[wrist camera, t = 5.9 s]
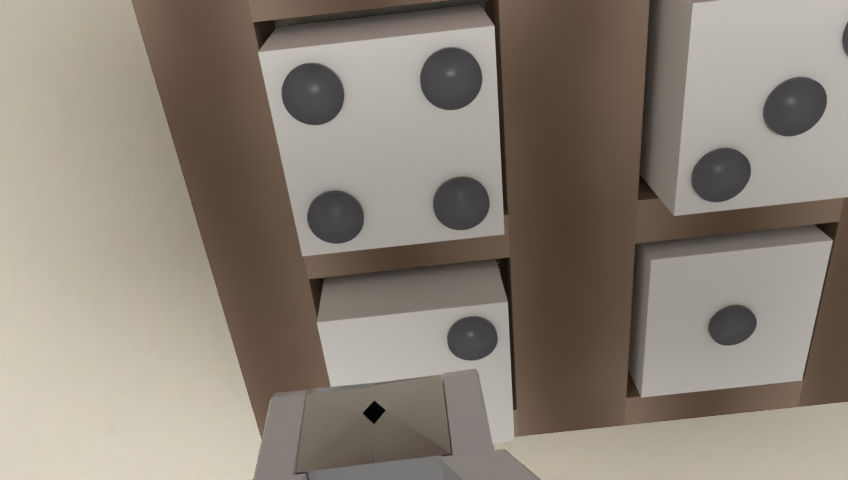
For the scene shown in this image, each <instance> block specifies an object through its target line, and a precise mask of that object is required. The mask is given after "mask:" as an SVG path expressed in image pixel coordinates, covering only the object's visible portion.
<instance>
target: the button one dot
mask: <svg viewBox="0 0 848 480" xmlns="http://www.w3.org/2000/svg"><path fill="white" fill-rule="evenodd" d="M832 242H833V240H832V239H831V238H830V237H828V236H827V235H826V234H825V233H824V232H822V231H821V230H820V229H819V228H818V227H816V226H815V225H814V224H812V225H803V226H794V227H785V228H776V229H766V230H757V231H748V232H739V233H729V234H720V235H711V236H702V237H693V238H683V239H674V240H665V241H656V242H646V243H637V244H635V257H634V274H633V291H632V308H631V325H630V342H629V359H628V371H629V373H630V375H631V377H632V379H633V381H634V383H635V385H636V388H637V390H638V392H639V394H640V396H641V398H642V397H652V396H661V395H671V394H680V393H689V392H699V391H708V390H718V389H727V388H737V387H746V386H755V385H765V384H774V383H784V382H793V381H802V378H803V373H804V369H805V364H806V360H807V355H808V351H809V346H810V342H811V337H812V333H813V328H814V324H815V319H816V315H817V310H818V306H819V301H820V297H821V292H822V287H823V283H824V278H825V274H826V269H827V265H828V260H829V256H830V251H831V247H832Z"/></svg>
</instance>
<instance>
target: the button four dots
mask: <svg viewBox="0 0 848 480" xmlns="http://www.w3.org/2000/svg"><path fill="white" fill-rule="evenodd" d="M258 55H259V59H260V64H261V69H262V73H263V78H264V82H265V87H266V92H267V96H268V101H269V105H270V110H271V115H272V119H273V124H274V128H275V133H276V138H277V142H278V147H279V151H280V156H281V161H282V165H283V170H284V174H285V179H286V184H287V188H288V193H289V197H290V202H291V207H292V211H293V216H294V220H295V225H296V229H297V234H298V239H299V243H300V248H301V252H302V256H311V255H320V254H330V253H339V252H348V251H357V250H366V249H375V248H385V247H394V246H403V245H412V244H421V243H431V242H440V241H449V240H458V239H467V238H477V237H486V236H495V235H504V213H503V192H502V172H501V151H500V130H499V110H498V89H497V68H496V48H495V27H494V24H493V23H492V21H491V20H490V18H489V17H488V15H487V14H486V12H485V11H484V10H483V8H482V7H481V5H480V4H475V5H466V6H457V7H448V8H439V9H431V10H422V11H413V12H404V13H395V14H386V15H377V16H368V17H359V18H351V19H342V20H333V21H324V22H315V23H306V24H297V25H288V26H279V27H276V29H275V30H274V31H273V33H272V34H271V35H270V37H269V38H268V39H267V41H266V42H265V43H264V45H263V46H262V47H261V49H260V50H259V51H258Z"/></svg>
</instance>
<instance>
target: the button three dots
mask: <svg viewBox="0 0 848 480" xmlns="http://www.w3.org/2000/svg"><path fill="white" fill-rule="evenodd" d="M639 174H640V175H641V177H642V178H643V179H644V180H645V181H646V183H647V184H648V185H649V186H650V187H651V189H652V190H653V191H654V192H655V194H656V195H657V196H658V197H659V198H660V200H661V201H662V202H663V203H664V204H665V206H666V207H667V208H668V209H669V211H670V212H671V213H672V214H673V215H674V216H679V215H688V214H697V213H706V212H715V211H725V210H734V209H743V208H752V207H761V206H771V205H780V204H789V203H798V202H807V201H817V200H826V199H835V198H844V197H848V0H650V2H649V19H648V36H647V53H646V70H645V87H644V104H643V121H642V138H641V155H640V172H639Z"/></svg>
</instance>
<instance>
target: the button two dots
mask: <svg viewBox="0 0 848 480" xmlns="http://www.w3.org/2000/svg"><path fill="white" fill-rule="evenodd" d="M317 326H318V331H319V335H320V340H321V344H322V349H323V354H324V358H325V363H326V367H327V372H328V377H329V381H330V386H331V387H335V386H345V385H355V384H366V383H377V382H385V381H393V380H400V379H408V378H416V377H424V376H432V375H440V374H442V380H443V373H448V372H455V371H462V370H469V369H476V370H477V371H478V373H479V378H480V383H481V388H482V393H483V398H484V403H485V407H486V412H487V417H488V422H489V427H490V432H491V437H492V442H493V444H499V443H508V442H515V440H514V419H513V399H512V378H511V357H510V337H509V316H508V301H507V297H506V293H505V290H504V286H503V282H502V279H501V275H500V271H499V268H498V264H497V260H496V259H490V260H480V261H471V262H462V263H453V264H444V265H434V266H425V267H416V268H407V269H397V270H388V271H379V272H370V273H361V274H351V275H342V276H333V277H324V282H323V288H322V294H321V300H320V306H319V312H318V318H317ZM443 387H444V386H443ZM444 395H445V394H444Z"/></svg>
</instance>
